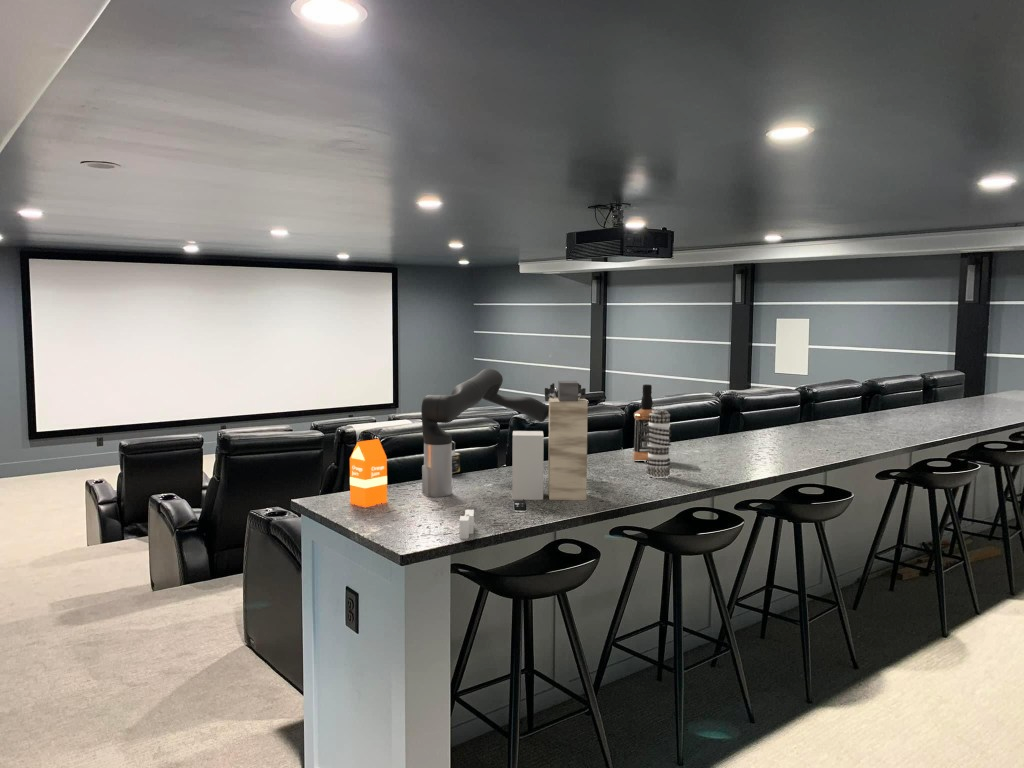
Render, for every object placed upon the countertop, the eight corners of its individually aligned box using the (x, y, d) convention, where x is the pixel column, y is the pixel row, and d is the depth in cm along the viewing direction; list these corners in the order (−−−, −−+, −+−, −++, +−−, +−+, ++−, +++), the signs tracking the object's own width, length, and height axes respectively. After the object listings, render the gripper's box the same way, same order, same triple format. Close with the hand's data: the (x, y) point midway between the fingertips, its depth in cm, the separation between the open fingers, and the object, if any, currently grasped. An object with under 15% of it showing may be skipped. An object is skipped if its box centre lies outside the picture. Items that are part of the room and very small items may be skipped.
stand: (548, 492, 247) (548, 398, 244) (583, 493, 247) (584, 398, 244) (549, 499, 237) (550, 401, 234) (586, 500, 237) (587, 401, 234)
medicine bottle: (447, 474, 277) (447, 443, 276) (433, 472, 281) (433, 441, 280) (460, 471, 282) (460, 440, 281) (446, 469, 287) (446, 439, 286)
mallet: (556, 395, 254) (556, 378, 254) (573, 395, 254) (574, 378, 254) (559, 401, 235) (559, 382, 235) (578, 401, 235) (578, 382, 235)
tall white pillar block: (512, 492, 247) (512, 430, 245) (542, 492, 247) (542, 431, 245) (512, 499, 237) (512, 435, 235) (543, 499, 237) (543, 435, 235)
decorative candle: (642, 474, 279) (643, 409, 277) (666, 473, 280) (667, 408, 278) (649, 479, 270) (650, 411, 268) (673, 478, 271) (675, 411, 269)
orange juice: (349, 503, 231) (349, 440, 230) (371, 498, 238) (371, 437, 236) (365, 507, 226) (364, 443, 224) (387, 502, 233) (387, 440, 231)
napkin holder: (467, 525, 208) (467, 505, 208) (498, 532, 201) (498, 511, 201) (430, 537, 196) (430, 516, 196) (462, 544, 190) (462, 523, 189)
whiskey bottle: (656, 458, 312) (658, 383, 310) (659, 462, 303) (660, 385, 300) (632, 457, 314) (633, 383, 311) (633, 462, 304) (635, 385, 301)
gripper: (543, 395, 266) (545, 375, 252) (582, 395, 266) (586, 375, 251) (543, 414, 263) (545, 395, 248) (583, 414, 263) (587, 395, 248)
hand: (566, 385), depth 250 cm, fingers open, 8 cm apart
